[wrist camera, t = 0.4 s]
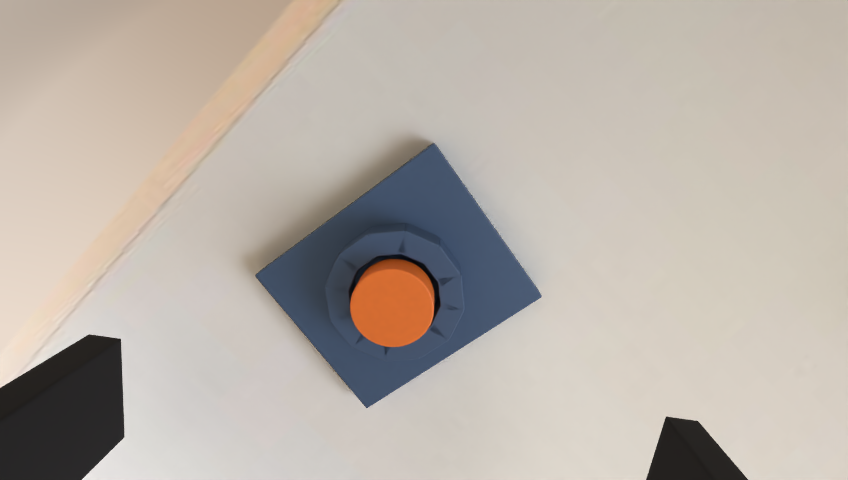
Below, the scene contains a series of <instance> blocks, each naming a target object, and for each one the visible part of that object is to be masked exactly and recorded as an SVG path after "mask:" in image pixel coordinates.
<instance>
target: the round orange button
mask: <svg viewBox="0 0 848 480" xmlns="http://www.w3.org/2000/svg"><path fill="white" fill-rule="evenodd" d="M350 312H351V317H352V320H353V322H354V324H355V326H356V327H357V329H358V330H359V332H360V333H361V334H362V335H363V336H364V337H366V338H367V339H368V340H370V341H372V342H374V343H376V344H378V345H381V346H386V347H400V346H405V345H408V344H410V343H413V342H414V341H416V340H418V339H419V338H420V337H421V336H422V335H424V334H425V332H426V331H427V330H428V328H429V326H430V325H431V322H432V319H433V315H434V289H433V286H432V283H431V281H430V279H429V277H428V276H427V274H426V273H425V272H424V271H423V270H422V269H421V268H420V267H418V266H417V265H415V264H413V263H411V262H409V261H406V260H402V259H386V260H382V261H379V262H377V263H375V264H373V265H372V266H370V267H369V268H368V269H367V270H366V271H365V272H364V273H363V274H362V276H361V277H360V279H359V281H358V283H357V285H356V287H355V289H354V291H353V293H352V296H351V301H350Z"/></svg>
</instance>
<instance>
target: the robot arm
mask: <svg viewBox="0 0 848 480" xmlns="http://www.w3.org/2000/svg"><path fill="white" fill-rule="evenodd" d="M123 438H124V413H123V385H122V358H121V339H117V338H110V337H103V336H96V335H87V336H86V337H84V338H82V339H81V340H79V341H77V342H76V343H74V344H72V345H71V346H69V347H67V348H66V349H64V350H62V351H61V352H59V353H58V354H56V355H54V356H53V357H51V358H49V359H48V360H46V361H44V362H43V363H41V364H39V365H38V366H36V367H34V368H33V369H31V370H29V371H28V372H26V373H24V374H23V375H21V376H19V377H18V378H16V379H14V380H13V381H11V382H10V383H8V384H6V385H5V386H3V387H1V388H0V480H82V479H83V478H84V477H85V476H86V475H87V474H88V473H89V472H90V471H91V470H92V469H93V468H94V467H95V466H96V465H97V464H98V463H99V462H100V461H101V460H102V459H103V458H104V457H105V456H106V455H107V454H108V453H109V452H110V451H111V450H112V449H113V448H114V447H115V446H116V445H117V444H118V443H119V442H120V441H121V440H122V439H123ZM646 480H748V479H747V478H746V477H745V476H744V474H743V473H742V472H741V471H740V470H739V469H738V467H737V466H736V465H735V464H734V463H733V462H732V460H731V459H730V458H729V457H728V456H727V455H726V453H725V452H724V451H723V450H722V449H721V448H720V446H719V445H718V444H717V443H716V442H715V441H714V439H713V438H712V437H711V436H710V435H709V434H708V432H707V431H706V430H705V429H704V428H703V427H702V425H701V424H700V423H699V422H698V421H693V420H686V419H679V418H672V417H666V418H665V422H664V425H663V428H662V431H661V434H660V438H659V441H658V444H657V447H656V450H655V453H654V457H653V460H652V463H651V466H650V469H649V473H648V476H647V479H646Z"/></svg>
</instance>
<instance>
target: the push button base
mask: <svg viewBox="0 0 848 480" xmlns="http://www.w3.org/2000/svg"><path fill="white" fill-rule="evenodd" d="M386 259H402V260H406V261H409V262H411V263H413V264H415V265H417V266H418V267H420V268H421V269H422V270H423V271H424V272H425V273H426V274H427V276H428V277H429V279H430V281H431V283H432V286H433V289H434V315H433V319H432V322H431V325H430V326H429V328H428V330H427V331H426V332H425V334H424V335H422V336H421V337H420V338H419V339H418V340H416V341H414V342H413V343H410V344H408V345H405V346H400V347H386V346H381V345H378V344H376V343H374V342H372V341H370V340H368V339H367V338H366V337H364V336H363V335H362V334H361V333H360V332H359V330H358V329H357V327H356V326H355V324H354V322H353V320H352V317H351V312H350V301H351V296H352V293H353V291H354V289H355V287H356V285H357V283H358V281H359V279H360V277H361V276H362V274H363V273H364V272H365V271H366V270H367V269H368V268H369V267H370V266H372V265H373V264H375V263H377V262H379V261H382V260H386ZM255 276H256V278H257V279H258V280H259V281H260V282H261V283H262V285H263V286H264V287H265V288H266V289H267V291H268V292H269V293H270V294H271V295H272V297H273V298H274V299H275V300H276V301H277V302H278V304H279V305H280V306H281V307H282V308H283V310H284V311H285V312H286V313H287V314H288V315H289V317H290V318H291V319H292V320H293V321H294V323H295V324H296V325H297V326H298V327H299V329H300V330H301V331H302V332H303V333H304V334H305V336H306V337H307V338H308V339H309V340H310V342H311V343H312V344H313V345H314V346H315V347H316V349H317V350H318V351H319V352H320V353H321V355H322V356H323V357H324V358H325V359H326V361H327V362H328V363H329V364H330V365H331V366H332V368H333V369H334V370H335V371H336V372H337V374H338V375H339V376H340V377H341V378H342V379H343V381H344V382H345V383H346V384H347V385H348V387H349V388H350V389H351V390H352V391H353V393H354V394H355V395H356V396H357V397H358V398H359V400H360V401H361V402H362V403H363V404H364V406H365V407H366V408H368V407H370V406H371V405H373V404H374V403H376V402H377V401H379V400H381V399H382V398H384V397H385V396H387V395H388V394H390V393H392V392H393V391H395V390H396V389H398V388H399V387H401V386H403V385H404V384H406V383H407V382H409V381H410V380H412V379H414V378H415V377H417V376H418V375H420V374H421V373H423V372H425V371H426V370H428V369H429V368H431V367H432V366H434V365H436V364H437V363H439V362H440V361H442V360H443V359H445V358H447V357H448V356H450V355H451V354H453V353H454V352H456V351H458V350H459V349H461V348H462V347H464V346H465V345H467V344H469V343H470V342H472V341H473V340H475V339H476V338H478V337H480V336H481V335H483V334H484V333H486V332H487V331H489V330H491V329H492V328H494V327H495V326H497V325H498V324H500V323H502V322H503V321H505V320H506V319H508V318H509V317H511V316H513V315H514V314H516V313H517V312H519V311H520V310H522V309H524V308H525V307H527V306H528V305H530V304H531V303H533V302H535V301H536V300H538V299H539V298H541V297H542V296H541V294H540V292H539V291H538V289H537V288H536V286H535V285H534V283H533V282H532V280H531V279H530V278H529V276H528V275H527V273H526V272H525V271H524V269H523V268H522V266H521V265H520V263H519V262H518V261H517V259H516V258H515V256H514V255H513V253H512V252H511V251H510V249H509V248H508V246H507V245H506V244H505V242H504V241H503V239H502V238H501V236H500V235H499V234H498V232H497V231H496V229H495V228H494V227H493V225H492V224H491V222H490V221H489V219H488V218H487V217H486V215H485V214H484V212H483V211H482V210H481V208H480V207H479V205H478V204H477V202H476V201H475V200H474V198H473V197H472V195H471V194H470V193H469V191H468V190H467V188H466V187H465V185H464V184H463V183H462V181H461V180H460V178H459V177H458V176H457V174H456V173H455V171H454V170H453V168H452V167H451V166H450V164H449V163H448V161H447V160H446V159H445V157H444V156H443V154H442V153H441V151H440V150H439V149H438V147H437V146H436V144H435V143H433V144H431V145H430V146H428V147H427V148H426V149H424V150H423V151H422V152H420V153H419V154H418V155H416V156H415V157H414V158H412V159H411V160H410V161H408V162H407V163H405V164H404V165H403V166H401V167H400V168H399V169H397V170H396V171H395V172H393V173H392V174H391V175H389V176H388V177H386V178H385V179H384V180H382V181H381V182H380V183H378V184H377V185H376V186H374V187H373V188H372V189H370V190H369V191H368V192H366V193H365V194H363V195H362V196H361V197H359V198H358V199H357V200H355V201H354V202H353V203H351V204H350V205H349V206H347V207H346V208H345V209H343V210H342V211H340V212H339V213H338V214H336V215H335V216H334V217H332V218H331V219H330V220H328V221H327V222H326V223H324V224H323V225H321V226H320V227H319V228H317V229H316V230H315V231H313V232H312V233H311V234H309V235H308V236H307V237H305V238H304V239H303V240H301V241H300V242H298V243H297V244H296V245H294V246H293V247H292V248H290V249H289V250H288V251H286V252H285V253H284V254H282V255H281V256H280V257H278V258H277V259H275V260H274V261H273V262H271V263H270V264H269V265H267V266H266V267H265V268H263V269H262V270H261V271H260V272H258V273H257V274H256V275H255Z"/></svg>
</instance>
